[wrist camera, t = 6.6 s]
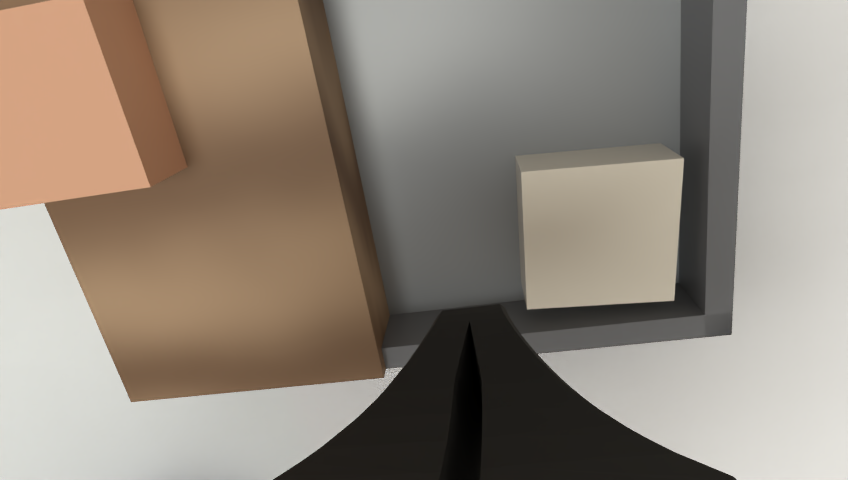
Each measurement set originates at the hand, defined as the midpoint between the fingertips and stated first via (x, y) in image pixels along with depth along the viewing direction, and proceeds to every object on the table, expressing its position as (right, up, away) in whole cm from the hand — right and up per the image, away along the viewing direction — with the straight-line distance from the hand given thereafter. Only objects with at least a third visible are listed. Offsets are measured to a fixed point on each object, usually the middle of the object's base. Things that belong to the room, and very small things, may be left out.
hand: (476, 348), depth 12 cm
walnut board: (-8, +5, +7) cm, 12 cm away
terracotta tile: (-10, +6, +4) cm, 13 cm away
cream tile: (+4, +2, +5) cm, 7 cm away
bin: (+2, +6, +6) cm, 9 cm away
